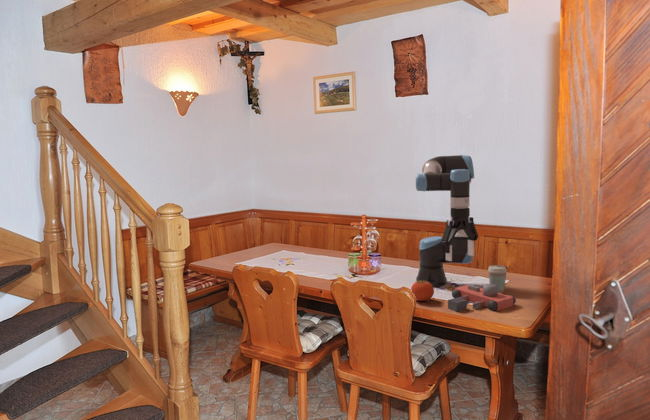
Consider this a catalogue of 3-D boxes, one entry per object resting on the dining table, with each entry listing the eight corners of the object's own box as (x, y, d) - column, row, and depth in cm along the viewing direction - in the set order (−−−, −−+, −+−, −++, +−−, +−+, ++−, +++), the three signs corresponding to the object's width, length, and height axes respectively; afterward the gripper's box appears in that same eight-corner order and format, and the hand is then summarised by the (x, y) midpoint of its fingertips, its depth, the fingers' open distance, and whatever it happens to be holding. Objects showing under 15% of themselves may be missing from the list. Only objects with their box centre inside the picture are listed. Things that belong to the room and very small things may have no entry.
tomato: (414, 296, 222) (414, 275, 220) (436, 298, 217) (436, 277, 216) (408, 302, 213) (407, 281, 212) (430, 305, 208) (430, 283, 207)
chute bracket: (456, 303, 209) (456, 297, 209) (466, 300, 213) (466, 295, 212) (474, 309, 201) (474, 303, 201) (484, 306, 204) (484, 300, 204)
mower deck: (451, 297, 218) (451, 280, 217) (471, 292, 224) (472, 275, 223) (495, 311, 197) (495, 293, 196) (515, 305, 204) (516, 287, 203)
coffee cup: (508, 294, 218) (508, 269, 217) (489, 294, 220) (489, 269, 219) (505, 289, 227) (505, 264, 225) (486, 289, 228) (486, 264, 227)
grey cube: (447, 309, 203) (447, 300, 203) (458, 306, 206) (458, 297, 206) (456, 312, 199) (456, 303, 199) (466, 309, 202) (466, 300, 201)
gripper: (445, 211, 184) (446, 264, 187) (487, 205, 198) (487, 254, 201) (431, 209, 190) (432, 261, 193) (472, 203, 204) (472, 252, 207)
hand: (460, 258), depth 197 cm, fingers open, 13 cm apart
